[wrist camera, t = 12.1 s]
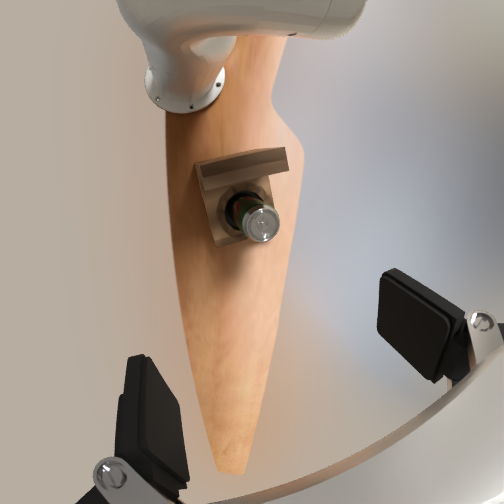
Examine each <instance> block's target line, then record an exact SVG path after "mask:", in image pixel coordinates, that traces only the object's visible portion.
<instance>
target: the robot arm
mask: <svg viewBox="0 0 504 504" xmlns="http://www.w3.org/2000/svg"><path fill="white" fill-rule="evenodd" d="M116 1H117V4H118V7H119V10H120V12H121V15H122V17H123V18H124V20H125V21H126V23H127V24H128V26H129V27H130V28H131V30H132V31H133V32H134V33H135V34H136V35H137V36H138V37H139V38H140V39H141V40H142V43H143V46H144V49H145V52H146V55H147V59H148V62H149V66H148V68H147V70H146V74H145V88H146V91H147V93H148V95H149V97H150V99H151V100H152V101H153V102H154V103H155V104H156V105H157V106H158V107H160V108H161V109H163V110H165V111H168V112H171V113H178V114H187V113H192V112H196V111H198V110H201V109H203V108H205V107H206V106H208V105H209V104H210V103H212V102H213V101H214V100H215V99H216V98H217V96H218V95H219V93H220V92H221V90H222V88H223V86H224V81H225V69H224V64H225V62H226V61H227V59H228V57H229V55H230V53H231V51H232V50H233V48H234V45H235V42H236V38H237V36H248V35H264V36H282V37H294V38H306V39H317V40H328V39H335V38H338V37H341V36H343V35H345V34H346V33H348V32H349V31H350V30H351V29H352V28H353V27H354V26H355V25H356V23H357V22H358V21H359V19H360V17H361V15H362V13H363V11H364V8H365V6H366V2H367V0H116ZM216 85H219V87H216ZM158 98H159V99H160V100H159V101H157V99H158ZM191 106H192V107H193V109H190V107H191ZM379 285H380V286H379V305H378V318H377V331H378V333H379V334H380V335H381V336H382V337H383V338H384V339H385V340H386V341H387V342H388V343H389V344H390V345H391V346H392V347H393V348H394V349H395V350H396V351H398V353H399V354H401V355H402V356H403V357H404V358H405V359H406V360H407V361H408V362H409V363H410V364H411V365H412V366H413V367H414V368H415V369H416V370H417V371H418V372H419V373H420V374H421V375H422V376H423V377H424V378H426V379H427V380H431V381H432V382H433V383H434V384H435V383H436V382H437V381H439V380H440V379H441V378H442V377H443V375H445V376H446V377H447V389H448V392H447V393H446V394H444V395H443V396H442V397H441V398H440V399H438V400H437V401H436V402H434V403H433V404H432V405H431V406H429V407H428V408H427V409H425V410H424V411H423V412H421V413H420V414H419V415H417V416H416V417H415V418H413V419H411V420H410V421H409V422H407V423H406V424H404V425H403V426H401V427H400V428H398V429H397V430H395V431H394V432H392V433H390V434H389V435H387V436H386V437H384V438H382V439H381V440H379V441H377V442H375V443H374V444H372V445H370V446H369V447H367V448H365V449H363V450H361V451H359V452H357V453H355V454H353V455H352V456H350V457H348V458H346V459H344V460H342V461H340V462H337V463H335V464H333V465H331V466H329V467H326V468H324V469H322V470H319V471H317V472H315V473H312V474H310V475H307V476H305V477H302V478H299V479H297V480H294V481H291V482H288V483H286V484H283V485H280V486H277V487H273V488H270V489H267V490H263V491H260V492H256V493H253V494H249V495H245V496H241V497H237V498H233V499H229V500H224V501H219V502H214V503H209V504H504V323H497V321H496V319H495V318H494V317H493V316H492V315H491V314H490V313H488V312H485V311H481V310H477V311H473V312H471V313H470V314H469V315H468V317H467V320H466V319H465V318H464V315H465V312H464V311H463V310H461V309H460V308H458V307H457V306H455V305H454V304H452V303H451V302H449V301H448V300H446V299H445V298H443V297H441V296H440V295H438V294H437V293H435V292H434V291H432V290H431V289H429V288H427V287H426V286H424V285H423V284H421V283H420V282H418V281H416V280H415V279H413V278H411V277H410V276H408V275H406V274H405V273H403V272H402V271H400V270H398V269H396V268H393V269H391V270H388V271H386V272H384V273H383V274H382V277H381V278H380V284H379ZM93 481H94V483H95V486H94V487H93V488H92V489H91V490H90V491H89V492H87V493H86V494H85V495H84V496H83V497H82V498H81V499H80V500H79V501H78V502H77V503H76V504H185V503H184V502H183V501H181V500H180V499H179V498H178V497H179V491H178V490H180V489H187V484H186V482H189V481H190V476H189V470H188V464H187V459H186V452H185V446H184V438H183V431H182V422H181V414H180V406H179V403H178V401H177V399H176V398H175V396H174V395H173V393H172V392H171V390H170V389H169V387H168V386H167V384H166V382H165V381H164V379H163V378H162V376H161V374H160V373H159V371H158V369H157V368H156V366H155V364H154V363H153V361H152V359H151V358H150V357H145V355H144V354H140V355H136V356H131V357H129V358H128V361H127V368H126V376H125V384H124V393H123V394H121V395H120V396H119V401H118V411H117V421H116V434H115V454H114V457H107V458H104V459H103V460H101V461H100V462H99V463H98V464H97V465H96V466H95V469H94V471H93Z"/></svg>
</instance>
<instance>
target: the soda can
mask: <svg viewBox="0 0 504 504" xmlns="http://www.w3.org/2000/svg"><path fill="white" fill-rule="evenodd" d="M227 213H228V216H229V217H230V218H231V220H232V221H233V222H234V223H235V224H236V225H237V227H238V228H239V229H240V230H241V231H242V232H243V233H244V235H245V236H246V237H247V238H248V239H250V240H252V241H254V242H265V241H268V240H270V239H272V238H273V237H274V236H275V235H276V234H277V232H278V230H279V226H280V222H279V216H278V213H277V212H276V210H275V209H274V208H273V207H271V206H270V205H268V204H266V203H264V202H262V201H261V200H259V199H257V198H255V197H253V196H251V195H250V194H247V193H238V194H236V195H234V196H233V197H231V199H230V200H229V202H228V204H227Z"/></svg>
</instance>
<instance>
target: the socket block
mask: <svg viewBox="0 0 504 504" xmlns="http://www.w3.org/2000/svg"><path fill="white" fill-rule="evenodd" d="M194 165H195V170H196V174H197V178H198V182H199V186H200V190H201V194H202V198H203V202H204V206H205V210H206V213H207V217H208V221H209V225H210V229H211V232H212V236H213V240H214V243H215V245H216V248H218V247H221V246H225V245H228V244H232V243H235V242H239V241H242V240H245V239H248V238H247V237H246V236H245V235H244V233H243V232H242V231H241V230H240V229H239V228H238V227H237V225H236V224H235V223H234V222H233V221H232V220H231V218H230V217H229V216H228V213H227V204H228V202H229V200H230V199H231V197H233V196H234V195H236V194H238V193H247V194H250V195H251V196H253V197H255V198H257V199H259V200H261V201H262V202H264V203H266V204H268V205H270V206H271V207H273V208H274V203H273V198H272V192H271V187H270V182H269V177H268V175H271V174H276V173H280V172H285V171H289V167H288V162H287V156H286V151H285V147H280V148H264V149H255V150H250V151H245V152H241V153H236V154H232V155H227V156H223V157H219V158H215V159H211V160H207V161H203V162H199V163H195V164H194ZM274 209H275V208H274Z"/></svg>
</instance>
